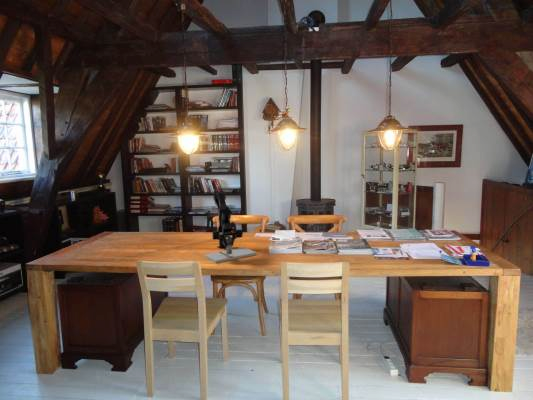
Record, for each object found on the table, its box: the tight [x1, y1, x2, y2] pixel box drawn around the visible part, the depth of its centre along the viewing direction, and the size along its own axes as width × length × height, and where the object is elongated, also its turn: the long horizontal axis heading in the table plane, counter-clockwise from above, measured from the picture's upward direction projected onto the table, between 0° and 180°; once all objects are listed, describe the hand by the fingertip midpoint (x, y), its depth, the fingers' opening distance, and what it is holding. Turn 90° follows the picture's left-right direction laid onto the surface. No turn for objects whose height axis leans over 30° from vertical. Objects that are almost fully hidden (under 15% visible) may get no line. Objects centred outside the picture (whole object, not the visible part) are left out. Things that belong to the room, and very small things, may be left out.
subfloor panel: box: [203, 246, 258, 264], centre depth 248 cm, size 16×29×2 cm, turn 123°
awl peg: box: [225, 236, 233, 254], centre depth 240 cm, size 4×4×10 cm
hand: (229, 246), depth 239 cm, fingers closed on awl peg, 4 cm apart
